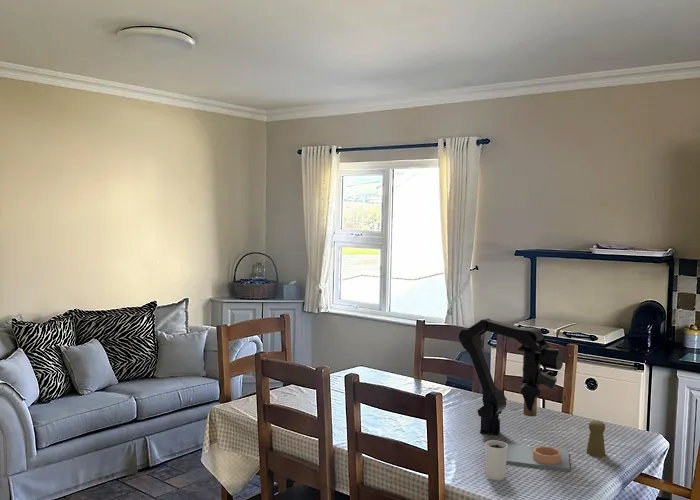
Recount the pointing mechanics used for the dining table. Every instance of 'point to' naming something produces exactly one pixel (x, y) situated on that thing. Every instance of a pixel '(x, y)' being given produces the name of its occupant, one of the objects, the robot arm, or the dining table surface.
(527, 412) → the walnut cylinder
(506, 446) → the white cup
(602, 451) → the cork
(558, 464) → the slate board
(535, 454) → the terracotta ring
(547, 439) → the dining table surface
